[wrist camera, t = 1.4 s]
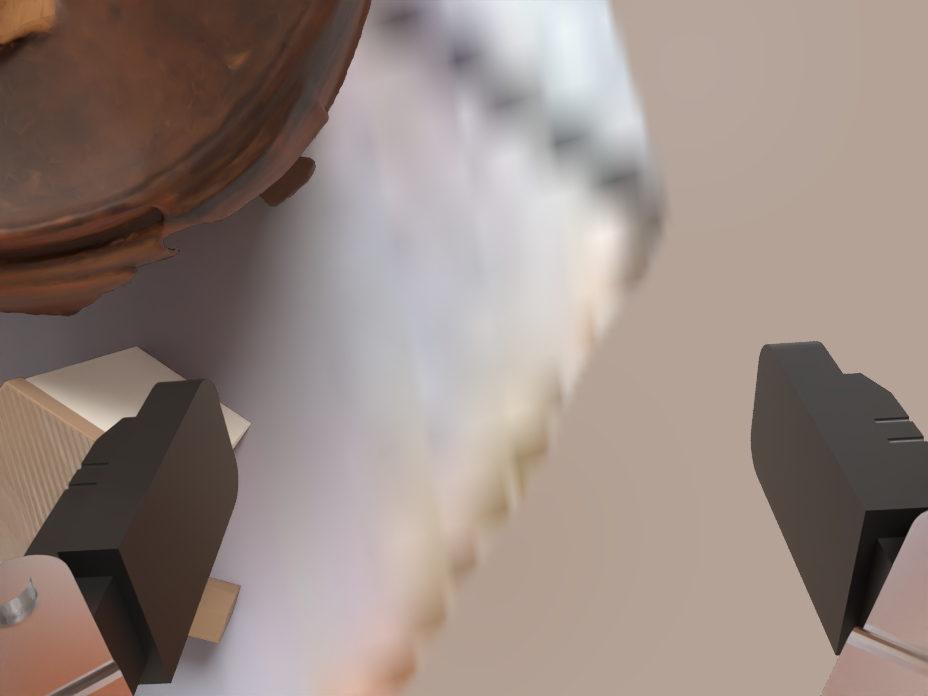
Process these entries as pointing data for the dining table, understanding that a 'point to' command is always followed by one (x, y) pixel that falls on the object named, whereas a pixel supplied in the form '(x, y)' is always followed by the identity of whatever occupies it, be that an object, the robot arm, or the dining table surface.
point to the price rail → (214, 610)
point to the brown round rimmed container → (150, 128)
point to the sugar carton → (67, 432)
